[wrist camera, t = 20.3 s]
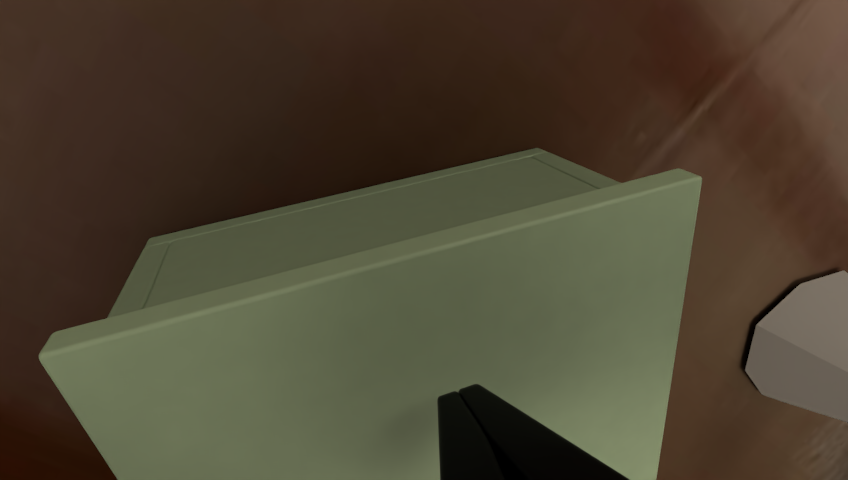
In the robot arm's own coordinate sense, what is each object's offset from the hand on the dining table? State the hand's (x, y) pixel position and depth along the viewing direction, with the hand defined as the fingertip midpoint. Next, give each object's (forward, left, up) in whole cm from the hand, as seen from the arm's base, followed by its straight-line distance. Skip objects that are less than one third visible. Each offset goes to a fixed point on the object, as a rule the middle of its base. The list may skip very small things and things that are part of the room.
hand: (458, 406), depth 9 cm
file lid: (0, -4, -2) cm, 4 cm away
